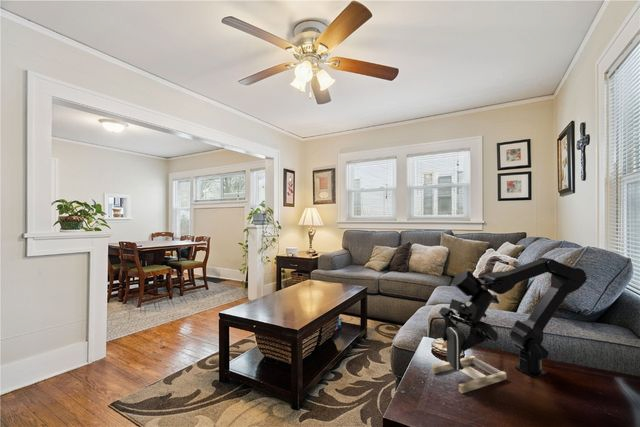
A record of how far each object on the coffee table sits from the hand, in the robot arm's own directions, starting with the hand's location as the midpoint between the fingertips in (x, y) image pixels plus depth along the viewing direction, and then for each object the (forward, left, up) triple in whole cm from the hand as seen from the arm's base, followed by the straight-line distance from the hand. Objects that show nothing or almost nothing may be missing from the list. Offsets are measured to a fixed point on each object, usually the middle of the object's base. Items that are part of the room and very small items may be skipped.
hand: (452, 345), depth 93 cm
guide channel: (-7, 0, -11) cm, 13 cm away
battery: (-1, 0, -7) cm, 7 cm away
